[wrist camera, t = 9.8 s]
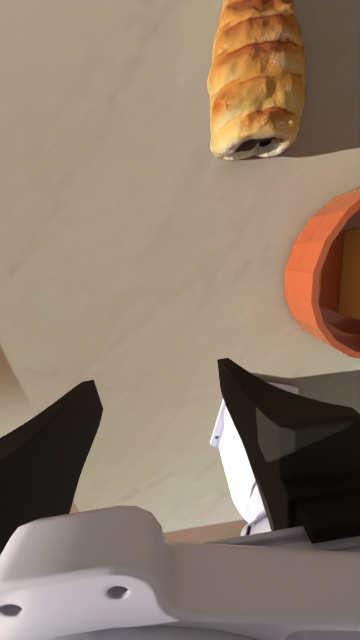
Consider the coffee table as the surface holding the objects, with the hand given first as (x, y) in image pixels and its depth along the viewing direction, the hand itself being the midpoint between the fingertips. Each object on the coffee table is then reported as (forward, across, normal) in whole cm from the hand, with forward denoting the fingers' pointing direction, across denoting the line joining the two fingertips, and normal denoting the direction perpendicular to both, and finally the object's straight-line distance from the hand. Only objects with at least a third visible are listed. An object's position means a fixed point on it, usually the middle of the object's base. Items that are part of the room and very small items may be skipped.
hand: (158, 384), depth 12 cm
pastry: (+10, -9, -17) cm, 21 cm away
